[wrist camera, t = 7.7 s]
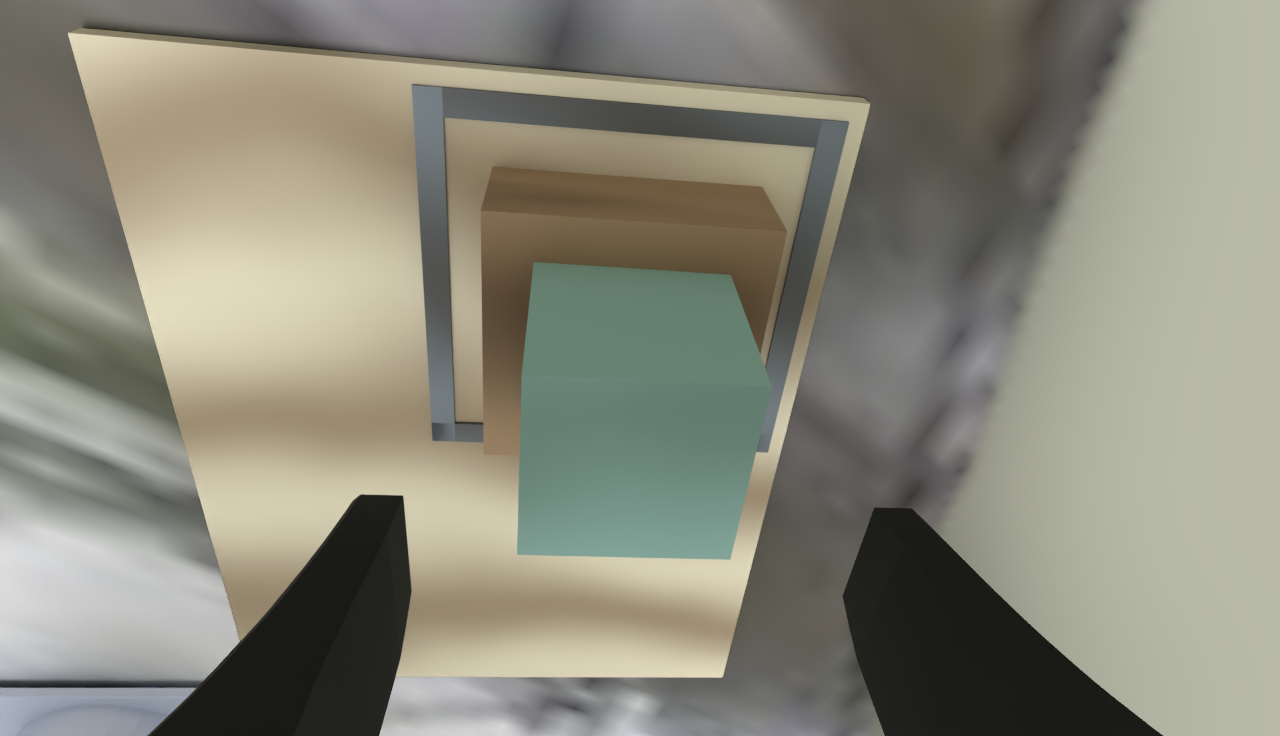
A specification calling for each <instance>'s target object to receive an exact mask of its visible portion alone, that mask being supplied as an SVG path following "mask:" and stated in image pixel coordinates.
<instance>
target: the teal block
mask: <svg viewBox="0 0 1280 736" xmlns="http://www.w3.org/2000/svg"><path fill="white" fill-rule="evenodd" d="M771 389H772V385H771V383H770V380H769V377H768V374H767V372H766V369H765V366H764V364H763V361H762V358H761V355H760V353H759V350H758V347H757V345H756V342H755V339H754V336H753V334H752V331H751V328H750V326H749V323H748V320H747V317H746V315H745V312H744V309H743V307H742V304H741V301H740V298H739V296H738V293H737V290H736V288H735V285H734V282H733V279H732V277H731V275H725V274H710V273H695V272H679V271H664V270H649V269H633V268H618V267H603V266H587V265H572V264H557V263H542V262H534V263H533V273H532V282H531V291H530V301H529V310H528V319H527V329H526V338H525V348H524V357H523V366H522V380H521V419H520V458H519V497H518V535H517V555H543V556H588V557H633V558H679V559H724V560H730V559H731V554H732V550H733V546H734V542H735V538H736V534H737V530H738V525H739V521H740V517H741V513H742V509H743V505H744V501H745V496H746V492H747V488H748V484H749V480H750V476H751V472H752V467H753V463H754V459H755V455H756V451H757V447H758V443H759V438H760V434H761V430H762V426H763V422H764V418H765V414H766V409H767V405H768V401H769V397H770V393H771Z"/></svg>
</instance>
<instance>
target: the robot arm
mask: <svg viewBox="0 0 1280 736" xmlns="http://www.w3.org/2000/svg"><path fill="white" fill-rule="evenodd" d="M411 592H412V589H411V577H410V566H409V555H408V543H407V532H406V521H405V510H404V498H403V495H365V494H360V495H359V496H358V497H356V498H355V499H354V500H353V501H352V502H351V504H350V505H349V507H348V508H347V510H346V511H345V513H344V514H343V515H342V517H341V518H340V520H339V521H338V522H337V524H336V525H335V527H334V528H333V529H332V531H331V532H330V534H329V535H328V536H327V538H326V539H325V540H324V542H323V543H322V544H321V546H320V547H319V548H318V549H317V551H316V552H315V553H314V555H313V556H312V557H311V559H310V560H309V561H308V562H307V564H306V565H305V566H304V568H303V569H302V570H301V571H300V573H299V574H298V575H297V576H296V577H295V579H294V580H293V581H292V582H291V583H290V585H289V586H288V587H287V588H286V590H285V591H284V592H283V593H282V594H281V596H280V597H279V598H278V599H277V600H276V602H275V603H274V604H273V605H272V607H271V608H270V609H269V610H268V611H267V612H266V614H265V615H264V616H263V617H262V618H261V619H260V620H259V622H258V623H257V624H256V625H255V626H254V627H253V628H252V629H251V630H250V631H249V633H248V634H247V635H246V636H245V637H244V638H243V639H242V640H241V641H240V642H239V644H238V645H237V646H236V647H235V648H234V649H233V650H232V651H231V652H230V653H229V655H228V656H227V657H226V658H225V659H224V660H223V661H222V662H221V663H220V664H219V665H218V666H217V668H216V669H215V670H214V671H213V672H212V673H211V674H210V675H209V676H208V677H207V678H206V679H205V680H204V681H203V682H202V683H201V684H200V685H199V686H198V687H197V688H0V736H379V734H380V730H381V727H382V723H383V719H384V716H385V712H386V709H387V705H388V702H389V698H390V694H391V691H392V687H393V684H394V680H395V677H396V673H397V669H398V666H399V662H400V658H401V653H402V647H403V641H404V636H405V630H406V624H407V617H408V611H409V605H410V598H411ZM843 600H844V604H845V609H846V614H847V618H848V623H849V628H850V632H851V636H852V640H853V644H854V648H855V653H856V657H857V660H858V663H859V666H860V669H861V671H862V674H863V677H864V680H865V683H866V685H867V688H868V691H869V694H870V696H871V699H872V702H873V705H874V707H875V710H876V713H877V716H878V718H879V721H880V724H881V726H882V729H883V732H884V734H885V736H1163V735H1161V734H1160V733H1159V732H1157V731H1156V730H1155V729H1153V728H1152V727H1151V726H1149V725H1148V724H1147V723H1146V722H1144V721H1143V720H1142V719H1140V718H1139V717H1138V716H1137V715H1135V714H1134V713H1133V712H1132V711H1130V710H1129V709H1128V708H1127V707H1125V706H1124V705H1123V704H1121V703H1120V702H1119V701H1118V700H1116V699H1115V698H1114V697H1112V696H1111V695H1110V694H1109V693H1108V692H1106V691H1105V690H1104V689H1103V688H1101V687H1100V686H1099V685H1098V684H1097V683H1095V682H1094V681H1093V680H1092V679H1091V678H1089V677H1088V676H1087V675H1086V674H1085V673H1083V672H1082V671H1081V670H1080V669H1079V668H1078V667H1077V666H1075V665H1074V664H1073V663H1072V662H1071V661H1070V660H1069V659H1068V658H1066V657H1065V656H1064V655H1063V654H1062V653H1061V652H1060V651H1058V650H1057V649H1056V648H1055V647H1054V646H1053V645H1052V644H1051V643H1049V642H1048V641H1047V640H1046V639H1045V638H1044V637H1043V636H1042V635H1041V634H1040V633H1038V632H1037V631H1036V630H1035V629H1034V628H1033V627H1032V626H1031V625H1030V624H1028V622H1027V621H1026V620H1024V619H1023V618H1022V617H1021V616H1020V615H1019V614H1018V613H1017V612H1016V611H1015V610H1014V609H1013V608H1012V607H1011V606H1010V605H1009V604H1008V603H1007V602H1006V601H1005V600H1003V598H1001V597H1000V596H999V595H998V594H997V593H996V592H995V591H994V590H993V589H992V588H991V587H990V586H989V585H988V584H987V583H986V582H985V581H984V580H983V579H982V578H981V577H980V576H979V575H978V574H977V573H976V572H975V571H974V570H973V569H972V568H971V567H970V566H969V565H968V564H967V563H966V562H965V561H964V560H963V559H962V558H961V557H960V556H959V555H958V554H957V553H956V552H955V551H954V550H953V549H952V548H951V547H950V546H949V545H948V544H947V543H946V542H945V541H944V540H943V539H942V538H941V537H940V536H939V535H938V534H937V533H936V532H935V531H934V530H933V529H932V528H931V527H930V526H929V525H928V524H927V523H926V522H925V521H924V520H923V519H922V518H921V517H920V516H919V515H918V514H917V513H916V512H915V511H914V510H913V509H907V508H874V510H873V513H872V516H871V519H870V522H869V524H868V527H867V530H866V533H865V535H864V538H863V541H862V544H861V547H860V549H859V552H858V555H857V558H856V560H855V563H854V566H853V569H852V572H851V574H850V577H849V580H848V583H847V585H846V588H845V591H844V594H843Z"/></svg>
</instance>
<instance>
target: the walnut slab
mask: <svg viewBox="0 0 1280 736" xmlns="http://www.w3.org/2000/svg"><path fill="white" fill-rule="evenodd" d="M786 236H787V230H786V228H785V226H784V225H783V223H782V221H781V219H780V217H779V216H778V214H777V212H776V210H775V209H774V207H773V205H772V203H771V201H770V200H769V198H768V196H767V194H766V193H765V191H764V189H763V187H759V186H745V185H732V184H718V183H705V182H692V181H678V180H665V179H652V178H638V177H625V176H611V175H598V174H585V173H571V172H558V171H545V170H531V169H518V168H504V167H492V171H491V174H490V178H489V182H488V185H487V189H486V193H485V196H484V200H483V204H482V207H481V279H482V358H483V438H484V455H514V456H520V419H521V380H522V366H523V357H524V348H525V338H526V329H527V319H528V310H529V301H530V291H531V282H532V273H533V263H534V262H542V263H557V264H572V265H587V266H603V267H618V268H633V269H649V270H664V271H679V272H695V273H710V274H725V275H731V277H732V279H733V282H734V285H735V288H736V290H737V293H738V296H739V298H740V301H741V304H742V307H743V309H744V312H745V315H746V317H747V320H748V323H749V326H750V328H751V331H752V334H753V336H754V339H755V342H756V345H757V347H758V350H759V353H760V354H761V349H762V345H763V340H764V336H765V331H766V327H767V322H768V318H769V313H770V309H771V304H772V299H773V295H774V290H775V286H776V281H777V277H778V272H779V268H780V263H781V259H782V254H783V249H784V245H785V240H786Z"/></svg>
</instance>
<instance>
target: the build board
mask: <svg viewBox="0 0 1280 736" xmlns="http://www.w3.org/2000/svg"><path fill="white" fill-rule="evenodd" d="M68 35H69V39H70V42H71V46H72V49H73V53H74V57H75V60H76V64H77V67H78V71H79V74H80V78H81V81H82V85H83V88H84V92H85V95H86V99H87V102H88V106H89V109H90V113H91V117H92V120H93V124H94V127H95V131H96V134H97V138H98V141H99V145H100V148H101V152H102V155H103V159H104V162H105V166H106V169H107V173H108V177H109V180H110V184H111V187H112V191H113V194H114V198H115V201H116V205H117V208H118V212H119V215H120V219H121V222H122V226H123V229H124V233H125V237H126V240H127V244H128V247H129V251H130V254H131V258H132V261H133V265H134V268H135V272H136V275H137V279H138V282H139V286H140V289H141V293H142V296H143V300H144V304H145V307H146V311H147V314H148V318H149V321H150V325H151V328H152V332H153V335H154V339H155V342H156V346H157V349H158V353H159V356H160V360H161V364H162V367H163V371H164V374H165V378H166V381H167V385H168V388H169V392H170V395H171V399H172V402H173V406H174V409H175V413H176V416H177V420H178V424H179V427H180V431H181V434H182V438H183V441H184V445H185V448H186V452H187V455H188V459H189V462H190V466H191V469H192V473H193V476H194V480H195V484H196V487H197V491H198V494H199V498H200V501H201V505H202V508H203V512H204V515H205V519H206V522H207V526H208V529H209V533H210V536H211V540H212V544H213V547H214V551H215V554H216V558H217V561H218V565H219V568H220V572H221V575H222V579H223V582H224V586H225V589H226V593H227V596H228V600H229V603H230V607H231V611H232V614H233V618H234V621H235V625H236V628H237V632H238V635H239V639H240V641H241V640H242V639H243V638H244V637H245V636H246V635H247V634H248V633H249V631H250V630H251V629H252V628H253V627H254V626H255V625H256V624H257V623H258V622H259V620H260V619H261V618H262V617H263V616H264V615H265V614H266V612H267V611H268V610H269V609H270V608H271V607H272V605H273V604H274V603H275V602H276V600H277V599H278V598H279V597H280V596H281V594H282V593H283V592H284V591H285V590H286V588H287V587H288V586H289V585H290V583H291V582H292V581H293V580H294V579H295V577H296V576H297V575H298V574H299V573H300V571H301V570H302V569H303V568H304V566H305V565H306V564H307V562H308V561H309V560H310V559H311V557H312V556H313V555H314V553H315V552H316V551H317V549H318V548H319V547H320V546H321V544H322V543H323V542H324V540H325V539H326V538H327V536H328V535H329V534H330V532H331V531H332V529H333V528H334V527H335V525H336V524H337V522H338V521H339V520H340V518H341V517H342V515H343V514H344V513H345V511H346V510H347V508H348V507H349V505H350V504H351V502H352V501H353V500H354V499H355V498H356V497H358V496H359V495H360V494H365V495H403V498H404V510H405V521H406V532H407V543H408V555H409V566H410V577H411V589H412V592H411V598H410V605H409V611H408V617H407V624H406V630H405V636H404V641H403V647H402V653H401V658H400V662H399V666H398V669H397V673H396V677H723V674H724V670H725V666H726V662H727V658H728V654H729V650H730V647H731V643H732V639H733V635H734V631H735V627H736V623H737V619H738V616H739V612H740V608H741V604H742V600H743V596H744V592H745V588H746V585H747V581H748V577H749V573H750V569H751V565H752V561H753V557H754V554H755V550H756V546H757V542H758V538H759V534H760V530H761V527H762V523H763V519H764V515H765V511H766V507H767V503H768V499H769V496H770V492H771V488H772V484H773V480H774V476H775V472H776V468H777V465H778V461H779V457H780V453H781V449H782V445H783V441H784V437H785V434H786V430H787V426H788V422H789V418H790V414H791V410H792V407H793V403H794V399H795V395H796V391H797V387H798V383H799V379H800V376H801V372H802V368H803V364H804V360H805V356H806V352H807V348H808V345H809V341H810V337H811V333H812V329H813V325H814V321H815V317H816V314H817V310H818V306H819V302H820V298H821V294H822V290H823V286H824V283H825V279H826V275H827V271H828V267H829V263H830V259H831V256H832V252H833V248H834V244H835V240H836V236H837V232H838V228H839V225H840V221H841V217H842V213H843V209H844V205H845V201H846V197H847V194H848V190H849V186H850V182H851V178H852V174H853V170H854V166H855V163H856V159H857V155H858V151H859V147H860V143H861V139H862V135H863V132H864V128H865V124H866V120H867V116H868V112H869V108H870V105H871V104H870V103H869V102H868V101H867V100H865V99H864V98H859V97H848V96H837V95H826V94H814V93H803V92H792V91H781V90H770V89H758V88H747V87H736V86H725V85H714V84H703V83H691V82H680V81H669V80H658V79H647V78H635V77H624V76H613V75H602V74H591V73H580V72H568V71H557V70H546V69H535V68H524V67H512V66H501V65H490V64H479V63H468V62H456V61H445V60H434V59H423V58H412V57H401V56H389V55H378V54H367V53H356V52H345V51H333V50H322V49H311V48H300V47H289V46H277V45H266V44H255V43H244V42H233V41H222V40H210V39H199V38H188V37H177V36H166V35H154V34H143V33H132V32H121V31H110V30H98V29H87V28H80V29H77V30H75V31H72V32H69V33H68ZM492 167H504V168H518V169H531V170H545V171H558V172H571V173H585V174H598V175H611V176H625V177H638V178H652V179H665V180H678V181H692V182H705V183H718V184H732V185H745V186H759V187H763V189H764V191H765V193H766V194H767V196H768V198H769V200H770V201H771V203H772V205H773V207H774V209H775V210H776V212H777V214H778V216H779V217H780V219H781V221H782V223H783V225H784V226H785V228H786V230H787V236H786V240H785V245H784V249H783V254H782V259H781V263H780V268H779V272H778V277H777V281H776V286H775V290H774V295H773V299H772V304H771V309H770V313H769V318H768V322H767V327H766V331H765V336H764V340H763V345H762V349H761V354H760V355H761V358H762V361H763V364H764V366H765V369H766V372H767V374H768V377H769V380H770V383H771V385H772V389H771V393H770V397H769V401H768V405H767V409H766V414H765V418H764V422H763V426H762V430H761V434H760V438H759V443H758V447H757V451H756V455H755V459H754V463H753V467H752V472H751V476H750V480H749V484H748V488H747V492H746V496H745V501H744V505H743V509H742V513H741V517H740V521H739V525H738V530H737V534H736V538H735V542H734V546H733V550H732V554H731V559H730V560H724V559H679V558H633V557H588V556H543V555H517V535H518V497H519V458H520V456H514V455H484V438H483V358H482V279H481V207H482V204H483V200H484V196H485V193H486V189H487V185H488V182H489V178H490V174H491V171H492Z"/></svg>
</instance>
